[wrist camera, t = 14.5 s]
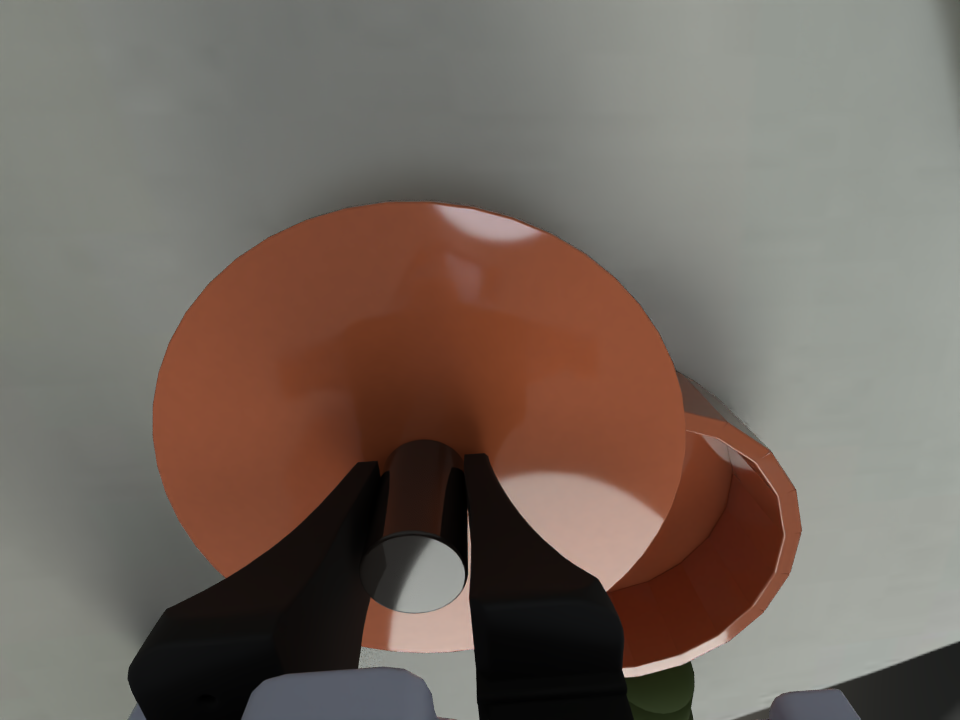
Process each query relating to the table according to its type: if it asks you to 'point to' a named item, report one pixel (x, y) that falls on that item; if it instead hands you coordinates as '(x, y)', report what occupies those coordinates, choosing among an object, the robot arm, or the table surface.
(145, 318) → the table surface
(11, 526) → the table surface
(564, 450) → the lid
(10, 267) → the table surface
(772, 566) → the pot
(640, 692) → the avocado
